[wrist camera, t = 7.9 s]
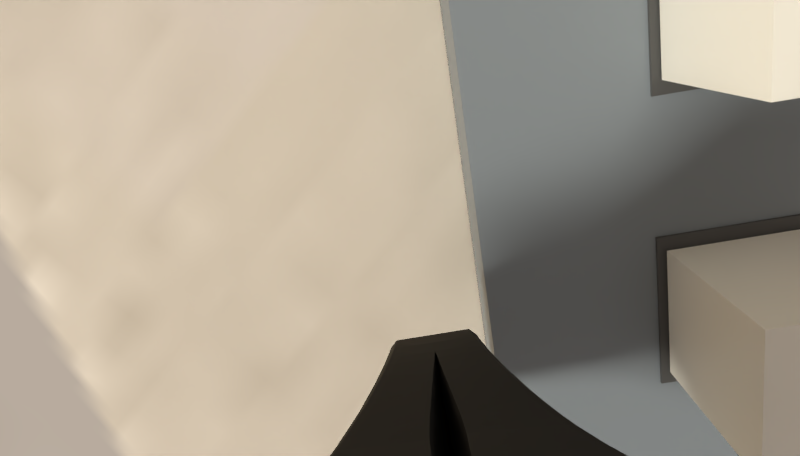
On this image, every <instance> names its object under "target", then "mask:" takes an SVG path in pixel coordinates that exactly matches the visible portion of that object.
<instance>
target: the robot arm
mask: <svg viewBox="0 0 800 456" xmlns="http://www.w3.org/2000/svg"><path fill="white" fill-rule="evenodd" d="M330 456H627V455H626V454H624V453H622V452H620V451H618V450H616V449H615V448H613V447H611V446H609V445H607V444H606V443H604V442H602V441H601V440H599V439H598V438H596V437H594V436H593V435H591V434H590V433H588V432H586V431H585V430H583V429H582V428H580V427H578V426H577V425H575V424H574V423H573V422H571V421H570V420H568V419H567V418H566V417H564V416H563V415H561V414H560V413H559V412H558V411H556V410H555V409H554V408H552V407H551V406H550V405H548V404H547V403H546V402H545V401H543V400H542V399H541V398H540V397H538V396H537V395H536V394H535V393H534V392H532V391H531V390H530V389H529V388H528V387H527V386H526V385H525V384H523V383H522V382H521V381H520V380H519V379H518V378H517V377H516V376H515V375H513V374H512V373H511V372H510V371H509V370H508V369H507V368H506V367H505V366H504V365H503V364H502V363H501V362H500V361H499V360H498V359H497V358H496V357H495V356H494V355H493V354H492V353H491V352H490V351H489V349H488V348H487V347H486V346H485V345H484V344H483V343H482V341H481V340H480V339H479V338H478V336H477V335H476V334H475V333H473V332H472V331H471V330H469V329H466V330H460V331H454V332H448V333H441V334H435V335H429V336H423V337H417V338H410V339H404V340H398V341H396V342H395V344H394V345H393V346H392V348H391V350H390V353H389V355H388V358H387V360H386V362H385V365H384V367H383V369H382V371H381V373H380V375H379V377H378V379H377V381H376V383H375V385H374V387H373V389H372V391H371V392H370V394H369V396H368V398H367V400H366V401H365V403H364V405H363V407H362V408H361V410H360V412H359V414H358V415H357V417H356V418H355V420H354V421H353V423H352V424H351V426H350V427H349V429H348V430H347V432H346V433H345V435H344V436H343V438H342V440H341V441H340V443H339V444H338V446H337V447H336V448H335V450H334V451H333V453H332V454H331V455H330Z"/></svg>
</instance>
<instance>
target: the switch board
mask: <svg viewBox="0 0 800 456" xmlns="http://www.w3.org/2000/svg"><path fill="white" fill-rule="evenodd" d="M440 6H441V14H442V21H443V28H444V36H445V43H446V51H447V58H448V66H449V73H450V80H451V88H452V95H453V103H454V110H455V118H456V125H457V133H458V140H459V147H460V155H461V162H462V170H463V177H464V185H465V192H466V199H467V207H468V214H469V222H470V229H471V237H472V244H473V251H474V259H475V266H476V274H477V281H478V289H479V296H480V303H481V311H482V318H483V326H484V333H485V341H486V347H487V348H488V349H489V351H490V352H491V353H492V354H493V355H494V356H495V357H496V358H497V359H498V360H499V361H500V362H501V363H502V364H503V365H504V366H505V367H506V368H507V369H508V370H509V371H510V372H511V373H512V374H513V375H515V376H516V377H517V378H518V379H519V380H520V381H521V382H522V383H523V384H525V385H526V386H527V387H528V388H529V389H530V390H531V391H532V392H534V393H535V394H536V395H537V396H538V397H540V398H541V399H542V400H543V401H545V402H546V403H547V404H548V405H550V406H551V407H552V408H554V409H555V410H556V411H558V412H559V413H560V414H561V415H563V416H564V417H566V418H567V419H568V420H570V421H571V422H573V423H574V424H575V425H577V426H578V427H580V428H582V429H583V430H585V431H586V432H588V433H590V434H591V435H593V436H594V437H596V438H598V439H599V440H601V441H602V442H604V443H606V444H607V445H609V446H611V447H613V448H615V449H616V450H618V451H620V452H622V453H624V454H626V455H627V456H739V455H738V454H737V453H736V452H735V451H734V449H733V448H732V447H731V446H730V444H729V443H728V442H727V441H726V440H725V438H724V437H723V436H722V435H721V433H720V432H719V431H718V430H717V429H716V427H715V426H714V425H713V424H712V422H711V421H710V420H709V419H708V418H707V416H706V415H705V414H704V413H703V412H702V410H701V409H700V408H699V407H698V405H697V404H696V403H695V402H694V401H693V399H692V398H691V397H690V396H689V394H688V393H687V392H686V391H685V390H684V388H683V387H682V386H681V385H680V383H679V382H678V381H677V380H676V379H675V377H674V376H673V375H672V374H671V373H670V346H669V312H668V277H667V251H668V250H674V249H680V248H687V247H693V246H699V245H705V244H712V243H718V242H724V241H730V240H737V239H743V238H749V237H755V236H761V235H768V234H774V233H780V232H786V231H793V230H799V229H800V98H796V99H790V100H784V101H778V102H772V103H771V102H766V101H761V100H757V99H752V98H747V97H742V96H737V95H732V94H727V93H723V92H718V91H713V90H708V89H703V88H698V87H694V86H689V85H684V84H679V83H674V82H669V81H664V80H662V70H661V35H660V1H659V0H440Z"/></svg>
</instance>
